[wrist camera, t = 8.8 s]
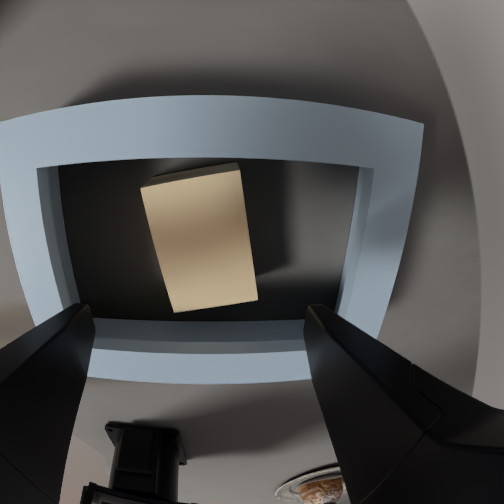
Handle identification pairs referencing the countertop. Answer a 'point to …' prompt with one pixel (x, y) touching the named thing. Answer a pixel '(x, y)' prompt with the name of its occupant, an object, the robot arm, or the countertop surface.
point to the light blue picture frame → (220, 146)
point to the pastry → (314, 489)
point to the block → (201, 236)
